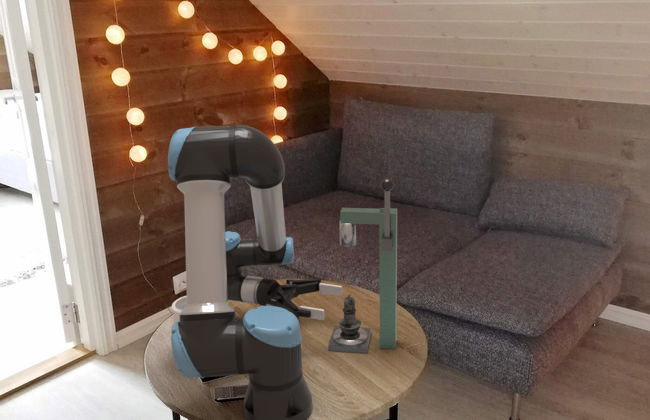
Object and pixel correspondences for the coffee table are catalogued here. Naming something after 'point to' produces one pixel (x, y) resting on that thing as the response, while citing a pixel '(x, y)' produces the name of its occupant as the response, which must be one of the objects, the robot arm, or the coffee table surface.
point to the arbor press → (387, 271)
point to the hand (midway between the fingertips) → (333, 302)
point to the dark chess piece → (349, 320)
